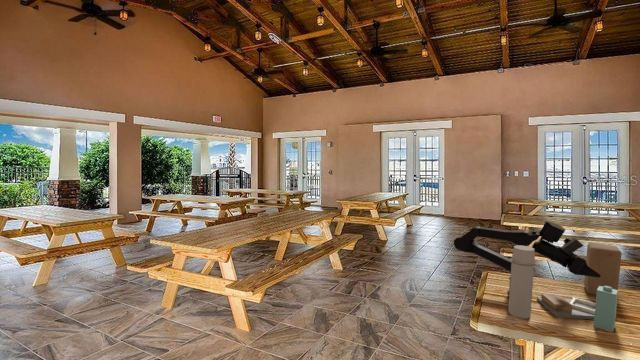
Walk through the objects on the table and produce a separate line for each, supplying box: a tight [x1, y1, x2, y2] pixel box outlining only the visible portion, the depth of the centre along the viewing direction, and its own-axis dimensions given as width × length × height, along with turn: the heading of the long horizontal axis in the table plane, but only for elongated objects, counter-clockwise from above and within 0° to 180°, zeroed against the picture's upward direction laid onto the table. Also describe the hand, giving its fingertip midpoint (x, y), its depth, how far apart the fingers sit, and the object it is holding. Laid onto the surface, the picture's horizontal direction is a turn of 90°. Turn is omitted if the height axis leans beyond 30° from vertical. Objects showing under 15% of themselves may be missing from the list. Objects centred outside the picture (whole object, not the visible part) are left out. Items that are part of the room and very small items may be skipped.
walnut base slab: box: [541, 293, 572, 312], centre depth 130 cm, size 6×9×2 cm, turn 174°
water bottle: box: [507, 244, 537, 320], centre depth 125 cm, size 9×8×25 cm
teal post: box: [593, 286, 619, 333], centre depth 117 cm, size 5×5×14 cm
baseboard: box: [536, 296, 617, 322], centre depth 129 cm, size 20×14×2 cm
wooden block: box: [583, 242, 623, 296], centre depth 144 cm, size 10×10×20 cm
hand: (596, 273), depth 127 cm, fingers open, 9 cm apart
